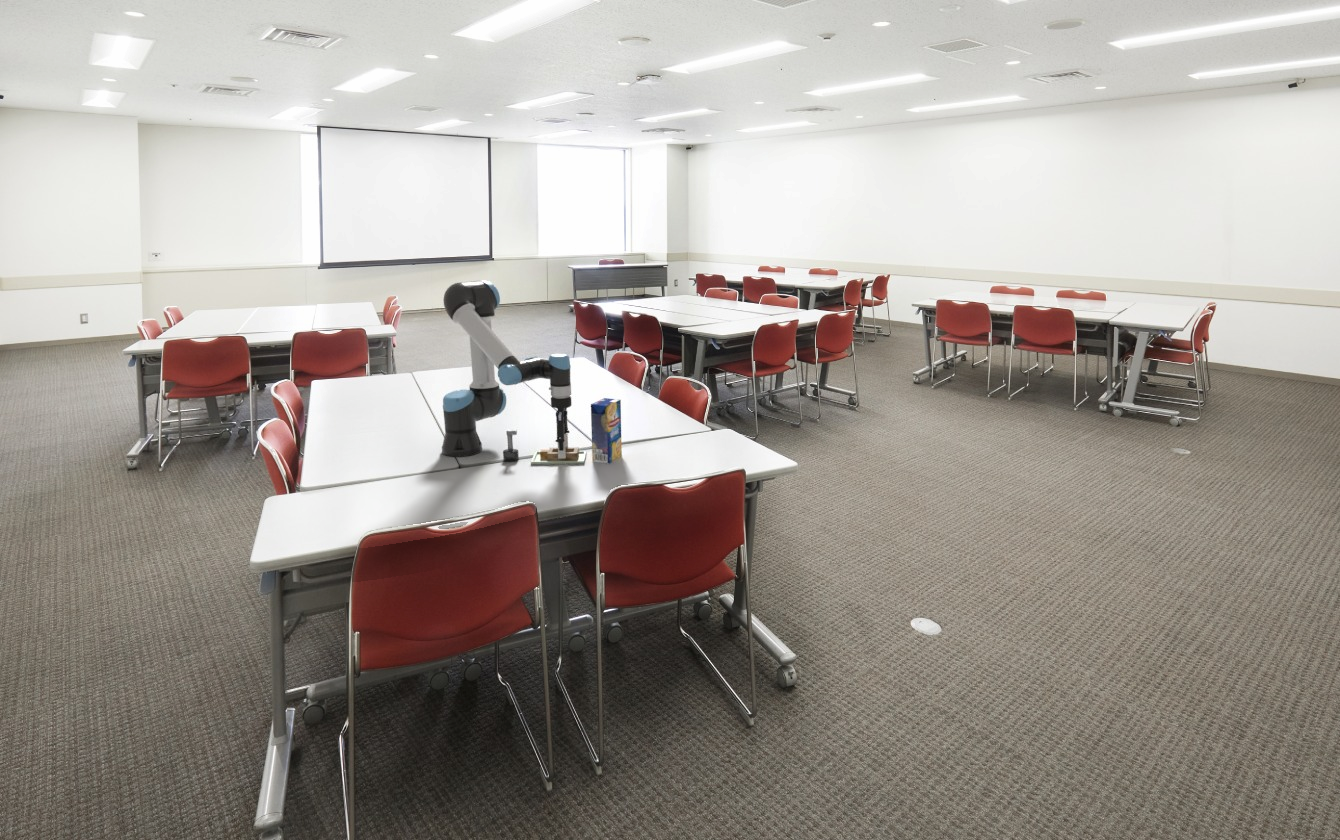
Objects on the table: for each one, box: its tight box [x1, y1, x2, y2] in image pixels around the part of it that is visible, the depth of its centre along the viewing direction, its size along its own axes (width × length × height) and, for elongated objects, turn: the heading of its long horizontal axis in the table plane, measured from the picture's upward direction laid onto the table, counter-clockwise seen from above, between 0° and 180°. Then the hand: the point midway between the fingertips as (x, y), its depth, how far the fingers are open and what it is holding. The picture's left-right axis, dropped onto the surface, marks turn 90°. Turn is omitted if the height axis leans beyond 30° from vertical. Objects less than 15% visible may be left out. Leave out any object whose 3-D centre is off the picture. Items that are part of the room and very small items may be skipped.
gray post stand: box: [502, 429, 520, 463], centre depth 280 cm, size 6×6×12 cm
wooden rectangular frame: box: [539, 446, 580, 461], centre depth 281 cm, size 14×8×3 cm, turn 92°
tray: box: [530, 450, 587, 466], centre depth 281 cm, size 20×13×1 cm, turn 92°
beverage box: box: [590, 397, 623, 464], centre depth 280 cm, size 7×11×22 cm, turn 158°
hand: (563, 454), depth 281 cm, fingers open, 9 cm apart
